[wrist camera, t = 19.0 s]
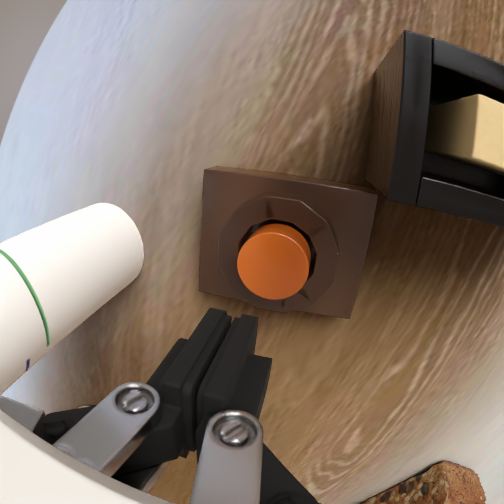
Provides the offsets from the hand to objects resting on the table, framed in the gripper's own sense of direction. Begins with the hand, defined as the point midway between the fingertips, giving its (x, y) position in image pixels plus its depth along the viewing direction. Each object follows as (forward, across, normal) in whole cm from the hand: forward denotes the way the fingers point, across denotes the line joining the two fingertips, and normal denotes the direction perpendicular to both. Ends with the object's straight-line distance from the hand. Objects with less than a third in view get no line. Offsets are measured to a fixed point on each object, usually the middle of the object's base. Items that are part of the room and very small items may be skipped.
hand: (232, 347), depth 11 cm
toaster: (+11, -12, -9) cm, 18 cm away
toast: (+10, -12, -9) cm, 18 cm away
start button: (+8, 0, -1) cm, 8 cm away
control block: (+11, 0, -1) cm, 11 cm away
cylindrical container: (+11, +14, +2) cm, 18 cm away
